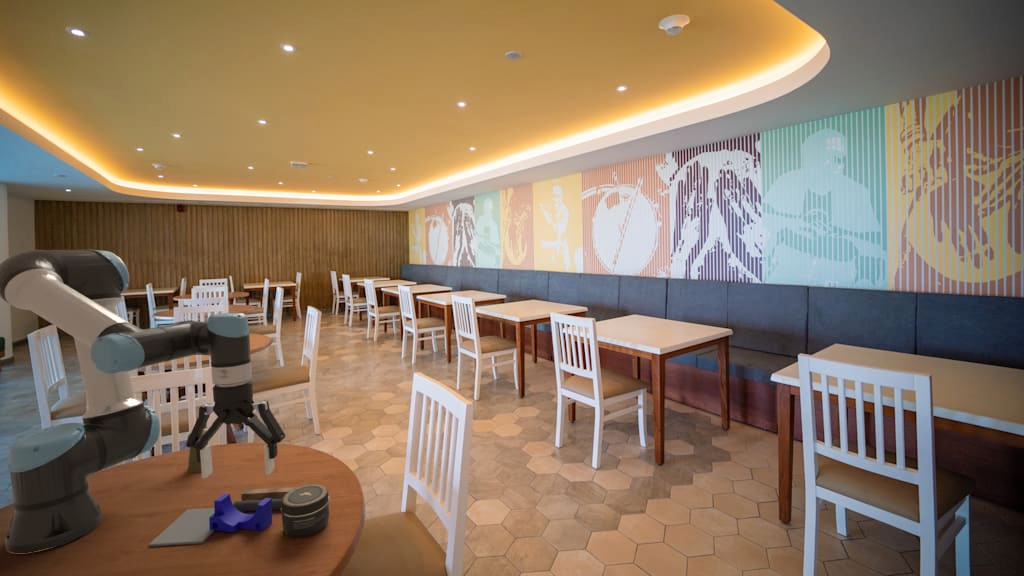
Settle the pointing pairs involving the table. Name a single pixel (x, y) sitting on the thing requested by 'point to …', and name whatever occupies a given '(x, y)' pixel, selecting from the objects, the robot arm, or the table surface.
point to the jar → (305, 510)
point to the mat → (187, 529)
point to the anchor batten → (265, 493)
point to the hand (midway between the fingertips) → (239, 473)
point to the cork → (194, 458)
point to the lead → (255, 505)
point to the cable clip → (239, 516)
